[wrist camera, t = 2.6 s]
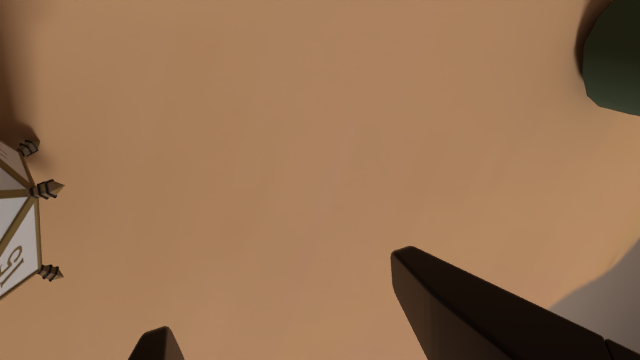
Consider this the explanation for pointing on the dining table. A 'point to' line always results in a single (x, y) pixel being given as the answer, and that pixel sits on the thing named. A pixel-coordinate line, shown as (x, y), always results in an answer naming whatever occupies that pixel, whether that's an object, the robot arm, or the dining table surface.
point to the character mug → (614, 58)
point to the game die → (21, 219)
